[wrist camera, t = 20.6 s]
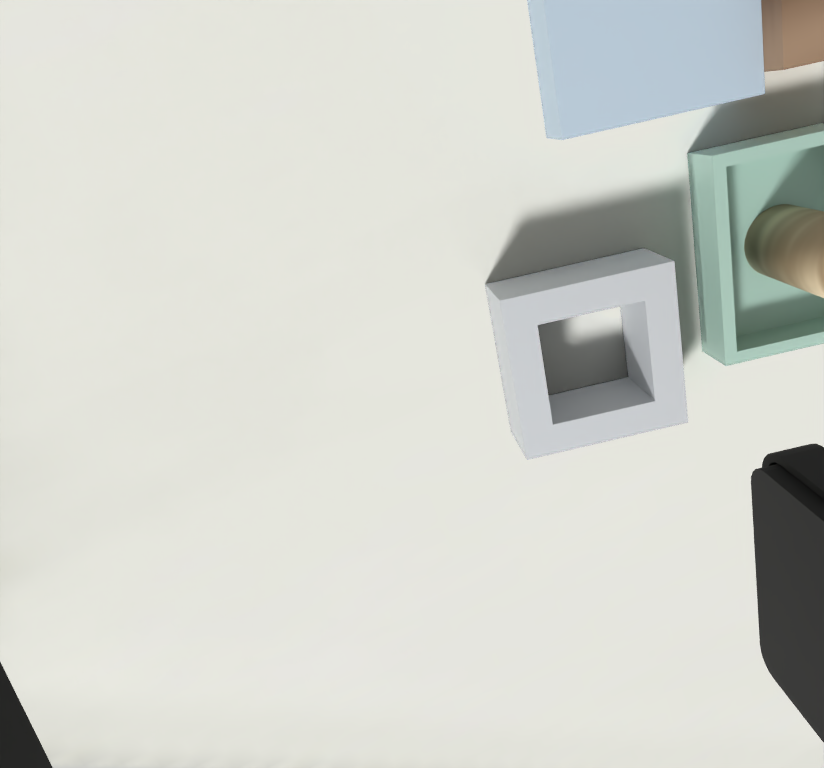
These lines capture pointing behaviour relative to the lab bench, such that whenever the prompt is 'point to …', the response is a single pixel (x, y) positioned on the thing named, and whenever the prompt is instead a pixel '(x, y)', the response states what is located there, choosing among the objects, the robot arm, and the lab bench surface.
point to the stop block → (792, 33)
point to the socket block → (602, 403)
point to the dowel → (788, 246)
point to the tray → (725, 235)
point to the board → (642, 59)
